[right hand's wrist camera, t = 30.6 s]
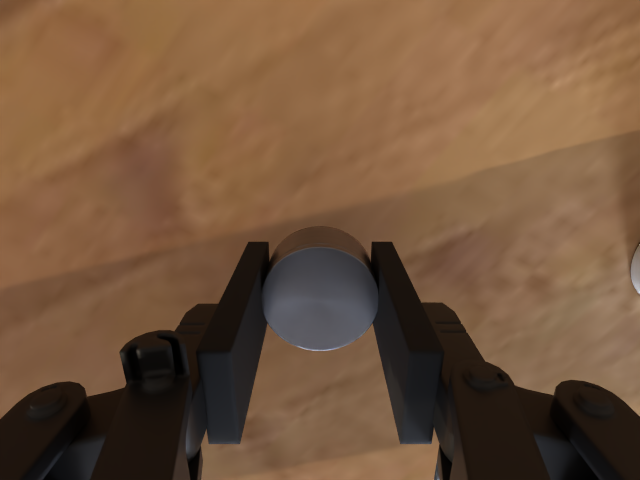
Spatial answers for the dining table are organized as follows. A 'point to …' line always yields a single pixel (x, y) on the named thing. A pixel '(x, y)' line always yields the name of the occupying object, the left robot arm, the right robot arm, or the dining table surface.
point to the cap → (320, 289)
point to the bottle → (636, 269)
